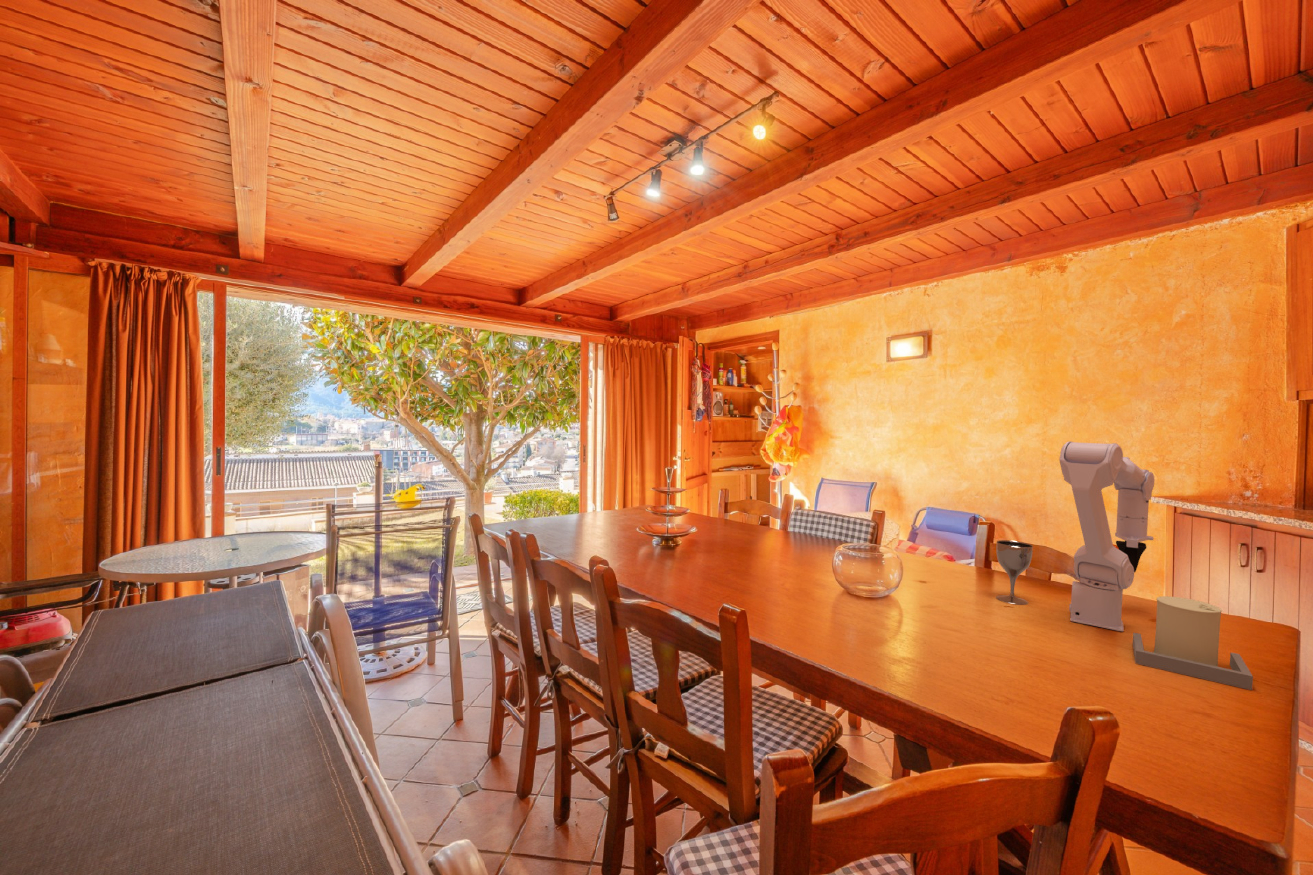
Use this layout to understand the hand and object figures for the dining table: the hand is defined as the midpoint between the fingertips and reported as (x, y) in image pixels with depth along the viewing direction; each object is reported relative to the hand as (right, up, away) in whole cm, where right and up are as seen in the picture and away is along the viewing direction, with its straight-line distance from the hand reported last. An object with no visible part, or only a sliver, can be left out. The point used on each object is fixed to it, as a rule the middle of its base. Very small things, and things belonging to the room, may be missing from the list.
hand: (1129, 571), depth 133 cm
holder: (-14, -11, -29) cm, 34 cm away
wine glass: (-24, -10, +8) cm, 27 cm away
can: (-13, -11, -27) cm, 32 cm away
